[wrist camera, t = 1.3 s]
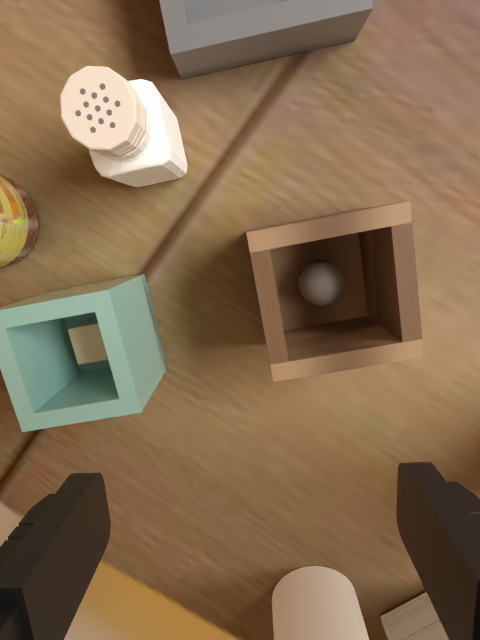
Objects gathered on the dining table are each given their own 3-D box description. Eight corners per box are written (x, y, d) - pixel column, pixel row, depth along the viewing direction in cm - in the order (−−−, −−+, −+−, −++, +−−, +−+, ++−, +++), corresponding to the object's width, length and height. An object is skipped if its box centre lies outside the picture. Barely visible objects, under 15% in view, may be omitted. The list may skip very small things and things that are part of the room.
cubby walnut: (367, 207, 26) (410, 201, 19) (380, 324, 27) (423, 357, 21) (247, 230, 26) (246, 232, 19) (267, 343, 28) (273, 382, 21)
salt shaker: (132, 190, 26) (66, 170, 17) (115, 125, 25) (35, 66, 16) (191, 176, 26) (157, 149, 16) (176, 111, 25) (131, 42, 15)
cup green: (144, 273, 27) (108, 289, 20) (167, 368, 29) (141, 412, 22) (47, 291, 28) (-20, 313, 21) (75, 383, 29) (22, 432, 22)
